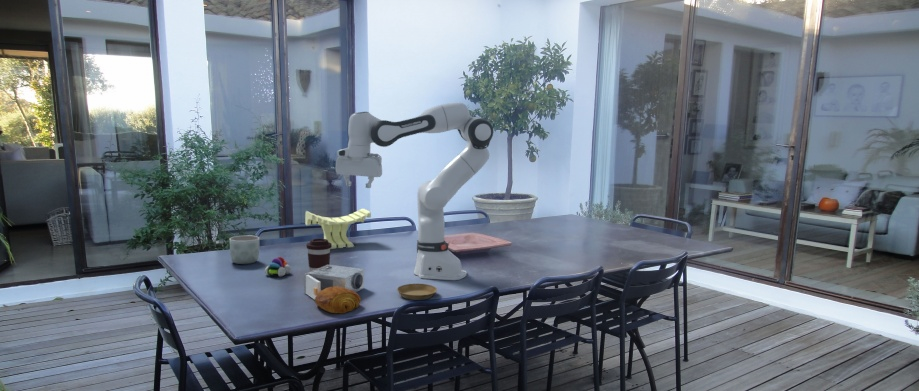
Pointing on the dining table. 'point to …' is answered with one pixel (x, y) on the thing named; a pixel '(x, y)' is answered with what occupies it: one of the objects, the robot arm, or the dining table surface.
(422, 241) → the robot arm
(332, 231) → the pale yellow ridged piece
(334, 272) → the camera housing
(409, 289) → the plant saucer
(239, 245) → the planter
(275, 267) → the rainbow toy
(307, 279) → the panel
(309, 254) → the coffee cup
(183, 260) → the dining table surface
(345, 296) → the croissant
